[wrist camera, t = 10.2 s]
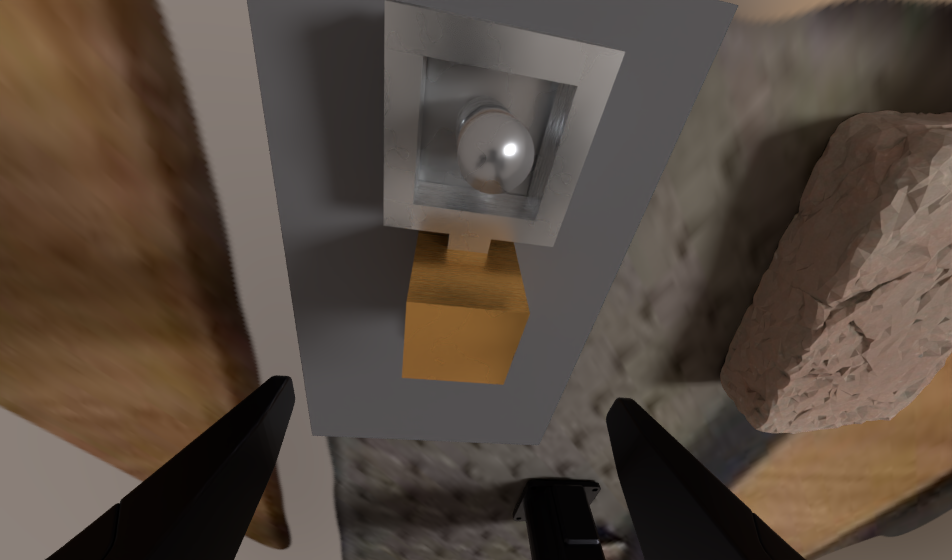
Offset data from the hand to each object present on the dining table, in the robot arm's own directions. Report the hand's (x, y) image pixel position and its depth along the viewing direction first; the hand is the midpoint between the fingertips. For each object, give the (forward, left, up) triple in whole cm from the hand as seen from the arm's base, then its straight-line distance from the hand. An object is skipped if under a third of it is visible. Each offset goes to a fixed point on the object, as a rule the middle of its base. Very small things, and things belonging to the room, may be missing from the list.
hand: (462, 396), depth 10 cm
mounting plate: (-2, 0, -9) cm, 9 cm away
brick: (+1, -21, -9) cm, 23 cm away
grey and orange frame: (+2, 0, -7) cm, 8 cm away
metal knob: (+6, 0, -8) cm, 10 cm away
